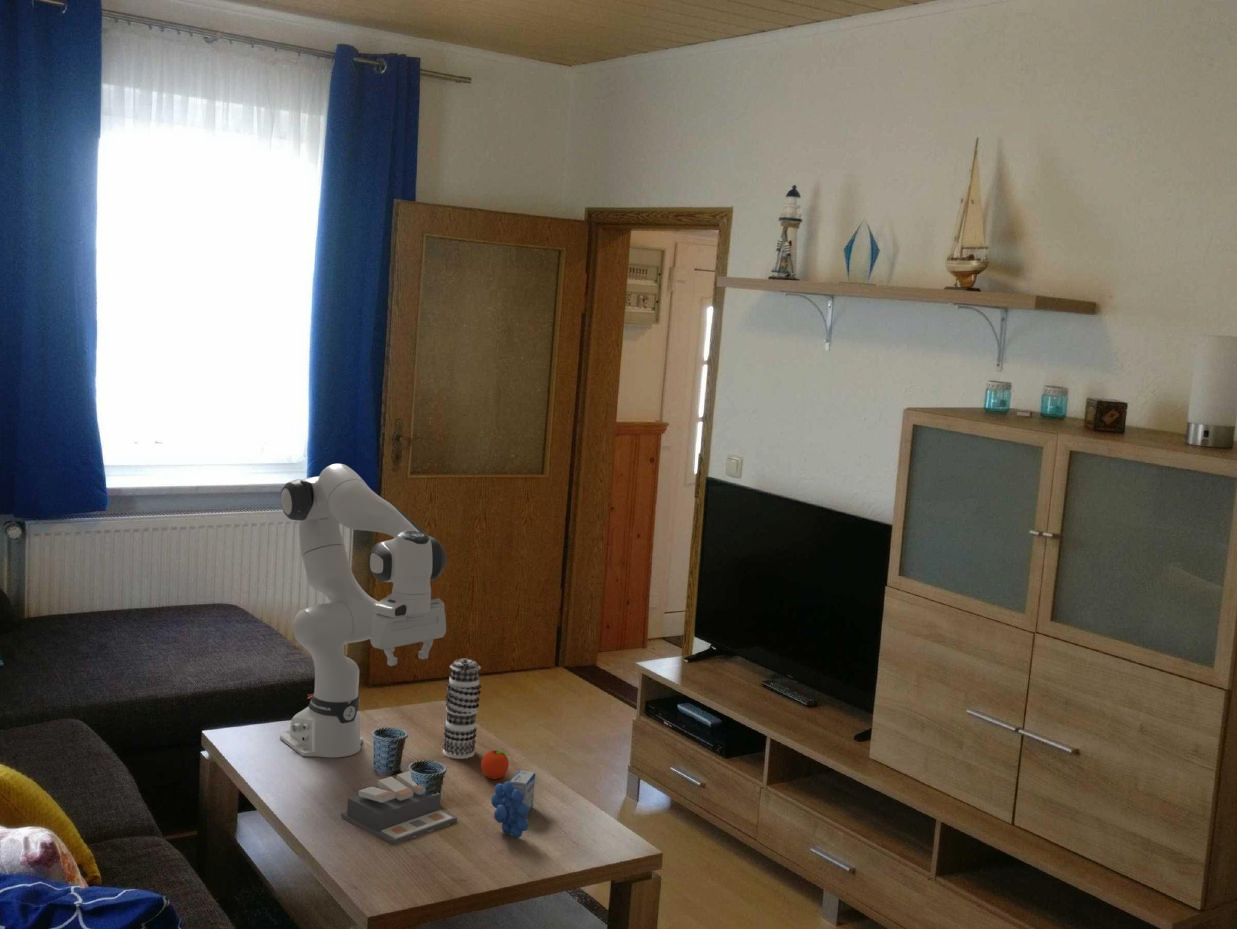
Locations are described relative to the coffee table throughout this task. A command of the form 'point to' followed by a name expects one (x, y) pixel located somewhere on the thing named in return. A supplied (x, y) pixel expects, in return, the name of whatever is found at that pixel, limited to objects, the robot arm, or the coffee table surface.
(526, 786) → the medicine box
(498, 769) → the tomato
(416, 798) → the switch unit
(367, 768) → the coffee table surface
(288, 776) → the coffee table surface
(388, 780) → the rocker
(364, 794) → the block
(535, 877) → the coffee table surface
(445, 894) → the coffee table surface
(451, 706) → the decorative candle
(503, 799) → the grapes
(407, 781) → the rocker
